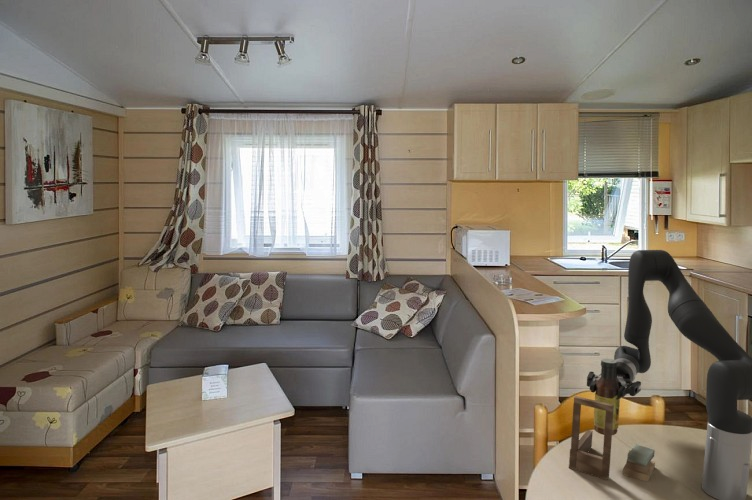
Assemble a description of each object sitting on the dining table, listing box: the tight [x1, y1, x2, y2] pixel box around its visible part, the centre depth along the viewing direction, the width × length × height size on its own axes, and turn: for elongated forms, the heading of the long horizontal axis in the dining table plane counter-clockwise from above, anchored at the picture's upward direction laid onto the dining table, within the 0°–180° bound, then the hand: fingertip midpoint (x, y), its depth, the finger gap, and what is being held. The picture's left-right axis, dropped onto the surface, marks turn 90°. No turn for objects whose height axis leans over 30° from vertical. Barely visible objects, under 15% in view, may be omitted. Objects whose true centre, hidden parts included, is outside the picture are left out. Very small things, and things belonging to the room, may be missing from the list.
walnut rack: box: [568, 395, 614, 481], centre depth 148 cm, size 10×15×20 cm, turn 144°
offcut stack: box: [622, 443, 656, 483], centre depth 144 cm, size 6×9×5 cm
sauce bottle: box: [593, 358, 621, 436], centre depth 149 cm, size 7×6×20 cm
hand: (605, 391), depth 147 cm, fingers closed on sauce bottle, 6 cm apart
